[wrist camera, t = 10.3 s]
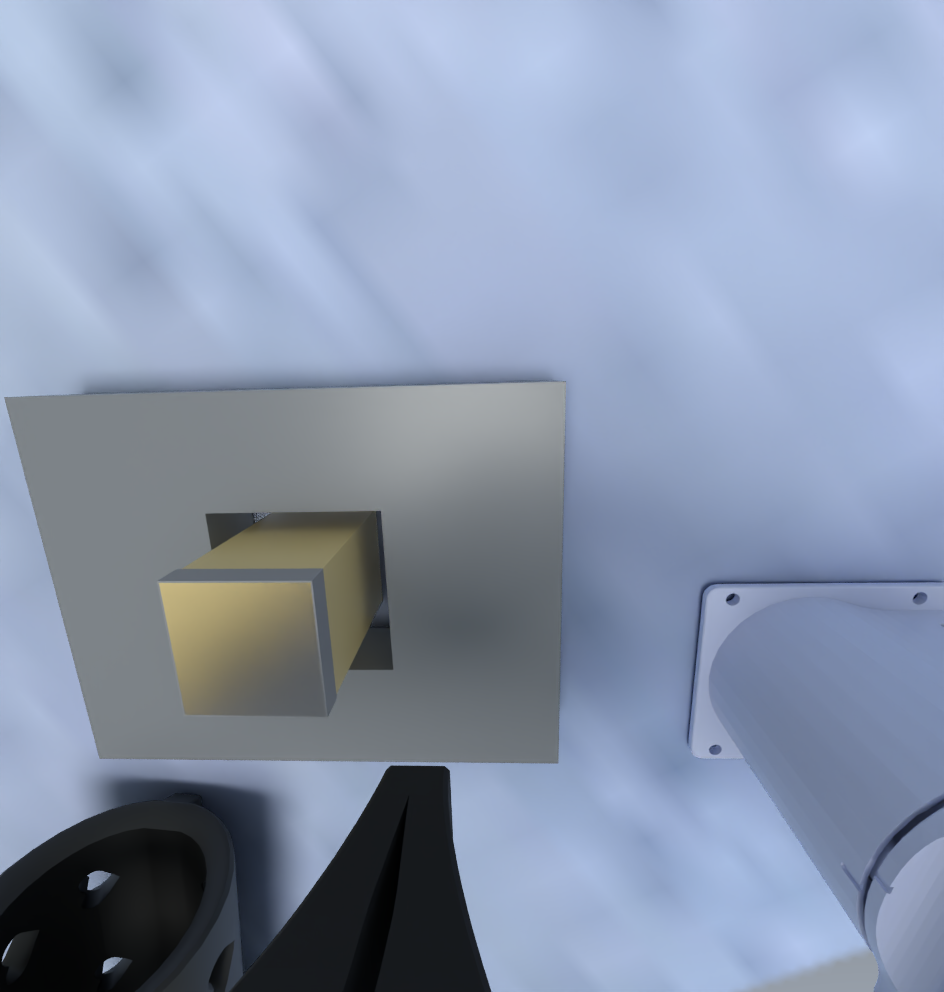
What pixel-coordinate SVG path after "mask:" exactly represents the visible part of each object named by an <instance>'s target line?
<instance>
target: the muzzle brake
mask: <svg viewBox="0 0 944 992" xmlns="http://www.w3.org/2000/svg"><path fill="white" fill-rule="evenodd" d="M94 871H105V872H108V873H112V874H111V876H110V877H109V878H108V879H107V880H106V881H105V882H104V883H102V884H101V885H100V886H98V887H96V888H94V889H92V890H87V887H88V881H89V877H88V876H87V875H89V874H90V873H92V872H94ZM12 939H13V940H12ZM11 940H12V943H11V945H10V947H9V949H8V952H7V954H6V956H5V958H4V960H3V961H2V957H3V954H4V951H5V949H6V948H7V946H8V944H9V943H10V942H11ZM111 957H120V958H122V960H121V961H120V962H119V963H118V964H117V965H116V966H114V967H113V968H111V969H110V970H108V971H107V972H105V973H102V971H103V964H104V961H105V960H107V959H109V958H111ZM242 976H243V963H242V949H241V936H240V922H239V908H238V894H237V880H236V867H235V853H234V847H233V843H232V840H231V836H230V833H229V831H228V830H227V828H226V827H225V825H224V823H223V822H222V820H221V819H219V818H218V817H217V816H216V815H215V814H214V813H212V812H211V811H210V810H208V809H206V808H203V807H202V801H201V796H200V795H191V794H180V793H175V794H174V795H172V796H170V797H169V798H167V799H165V800H164V801H161V800H153V801H146V802H140V803H133V804H129V805H125V806H122V807H118V808H115V809H111V810H108V811H106V812H103V813H101V814H98V815H96V816H93V817H91V818H88V819H85V820H83V821H82V822H80V823H78V824H76V825H74V826H72V827H70V828H68V829H66V830H64V831H62V832H60V833H58V834H57V835H55V836H54V837H52V838H51V839H49V840H48V841H46V842H44V843H43V844H41V845H40V846H38V847H37V848H35V849H33V850H32V851H31V852H29V853H28V854H27V855H25V856H24V857H23V858H21V859H20V860H19V861H17V862H16V863H15V864H13V865H12V866H11V867H9V868H8V869H7V870H5V871H4V872H3V873H2V874H1V875H0V992H229V991H230V990H231V989H232V988H233V987H234V985H235V984H236V983H237V982H238V981H239V980H240V978H241V977H242Z"/></svg>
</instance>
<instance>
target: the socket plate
mask: <svg viewBox="0 0 944 992" xmlns="http://www.w3.org/2000/svg"><path fill="white" fill-rule="evenodd" d="M565 395H566V382H564V381H525V382H489V383H454V384H419V385H383V386H348V387H313V388H277V389H242V390H207V391H171V392H136V393H101V394H71V395H49V396H26V397H4V398H5V402H6V406H7V410H8V414H9V417H10V421H11V425H12V429H13V433H14V436H15V440H16V444H17V448H18V451H19V455H20V459H21V463H22V467H23V470H24V474H25V478H26V482H27V485H28V489H29V493H30V497H31V501H32V504H33V508H34V512H35V516H36V520H37V523H38V527H39V531H40V535H41V538H42V542H43V546H44V550H45V554H46V557H47V561H48V565H49V569H50V573H51V576H52V580H53V584H54V588H55V591H56V595H57V599H58V603H59V607H60V610H61V614H62V618H63V622H64V625H65V629H66V633H67V637H68V641H69V644H70V648H71V652H72V656H73V660H74V663H75V667H76V671H77V675H78V678H79V682H80V686H81V690H82V694H83V697H84V701H85V705H86V709H87V712H88V716H89V720H90V724H91V728H92V731H93V735H94V739H95V743H96V747H97V750H98V754H99V758H100V759H188V760H282V761H377V762H471V763H558V749H559V699H560V648H561V597H562V547H563V496H564V446H565ZM337 511H381V519H382V532H383V545H384V557H385V570H386V583H387V596H388V609H389V621H390V627H379V628H369V629H368V631H367V633H366V635H365V637H364V639H363V641H362V643H361V645H360V647H359V649H358V651H357V654H356V656H355V658H354V660H353V662H352V664H351V666H350V668H349V670H348V672H347V674H346V676H345V678H344V680H343V682H342V684H341V686H340V688H339V690H338V692H337V694H336V695H337V700H336V702H335V704H334V706H333V708H332V710H331V712H330V714H329V716H328V718H291V717H201V716H184V715H183V710H182V705H181V700H180V695H179V690H178V685H177V680H176V675H175V670H174V665H173V660H172V655H171V650H170V645H169V640H168V635H167V630H166V625H165V620H164V615H163V610H162V605H161V600H160V595H159V590H158V585H157V581H158V580H159V579H161V578H163V577H164V576H166V575H168V574H169V573H171V572H173V571H174V570H176V569H182V568H184V567H185V566H187V565H189V564H190V563H192V562H193V561H195V560H197V559H198V558H200V557H202V556H203V555H205V554H206V553H208V552H210V551H211V550H213V549H214V548H216V547H218V546H219V545H221V544H222V543H224V542H226V541H227V540H229V539H230V538H232V537H234V536H235V535H237V534H239V533H240V532H242V531H243V530H245V529H247V528H248V527H250V526H251V525H253V524H254V521H253V514H252V513H272V512H337Z"/></svg>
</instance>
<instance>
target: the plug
mask: <svg viewBox="0 0 944 992" xmlns="http://www.w3.org/2000/svg"><path fill="white" fill-rule="evenodd" d="M157 585H158V590H159V595H160V600H161V605H162V610H163V615H164V620H165V625H166V630H167V635H168V640H169V645H170V650H171V655H172V660H173V665H174V670H175V675H176V680H177V685H178V690H179V695H180V700H181V705H182V710H183V715H184V716H201V717H291V718H328V716H329V714H330V712H331V710H332V708H333V706H334V704H335V702H336V700H337V695H336V694H337V692H338V690H339V688H340V686H341V684H342V682H343V680H344V678H345V676H346V674H347V672H348V670H349V668H350V666H351V664H352V662H353V660H354V658H355V656H356V654H357V651H358V649H359V647H360V645H361V643H362V641H363V639H364V637H365V635H366V633H367V631H368V629H369V627H370V625H371V623H372V621H373V619H374V617H375V615H376V613H377V611H378V609H379V607H380V605H381V602H382V600H383V598H382V584H381V571H380V558H379V544H378V531H377V517H376V511H337V512H272V513H271V514H269V515H267V516H266V517H264V518H263V519H261V520H259V521H258V522H256V523H255V524H253V525H251V526H250V527H248V528H247V529H245V530H243V531H242V532H240V533H239V534H237V535H235V536H234V537H232V538H230V539H229V540H227V541H226V542H224V543H222V544H221V545H219V546H218V547H216V548H214V549H213V550H211V551H210V552H208V553H206V554H205V555H203V556H202V557H200V558H198V559H197V560H195V561H193V562H192V563H190V564H189V565H187V566H185V567H184V568H182V569H176V570H174V571H173V572H171V573H169V574H168V575H166V576H164V577H163V578H161V579H159V580H158V581H157Z"/></svg>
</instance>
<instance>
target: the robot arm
mask: <svg viewBox="0 0 944 992" xmlns="http://www.w3.org/2000/svg"><path fill="white" fill-rule="evenodd" d="M733 593H735V596H734V598H733V599H732V600H730V601H726V598H727V596H728V595H730V594H733ZM917 593H918V595H917V597H916V598H915V599H913V597H914V595H916V594H917ZM688 745H689V749H690V750H691V752H692V754H693V755H694V756H695V757H697V758H702V759H745V760H746V762H747V763H748V765H749V766H750V768H751V769H752V771H753V772H754V774H755V775H756V777H757V778H758V780H759V781H760V783H761V784H762V786H763V787H764V789H765V790H766V792H767V794H768V795H769V797H770V798H771V800H772V801H773V803H774V804H775V806H776V807H777V809H778V810H779V812H780V813H781V815H782V816H783V818H784V819H785V821H786V822H787V824H788V825H789V827H790V829H791V830H792V832H793V833H794V835H795V836H796V838H797V839H798V841H799V842H800V844H801V845H802V847H803V848H804V850H805V851H806V853H807V854H808V856H809V857H810V859H811V860H812V862H813V863H814V865H815V867H816V868H817V870H818V871H819V873H820V874H821V876H822V877H823V879H824V880H825V882H826V883H827V885H828V886H829V888H830V889H831V891H832V892H833V894H834V895H835V897H836V898H837V900H838V902H839V903H840V905H841V906H842V908H843V909H844V911H845V912H846V914H847V915H848V917H849V918H850V920H851V921H852V923H853V924H854V926H855V927H856V929H857V930H858V932H859V933H860V935H861V937H862V938H863V940H864V941H865V943H866V944H867V946H868V947H869V949H870V950H871V951H872V952H873V954H874V956H875V959H876V961H877V963H878V968H879V976H878V980H877V983H876V985H875V987H874V992H944V583H943V582H925V583H792V584H715V585H711V586H709V587H708V588H707V589H706V590H705V591H704V594H703V600H702V610H701V620H700V630H699V640H698V650H697V660H696V670H695V680H694V690H693V700H692V710H691V720H690V730H689V741H688ZM712 745H716V746H715V747H713V748H710V747H711V746H712ZM229 992H491V989H490V986H489V983H488V980H487V977H486V973H485V970H484V967H483V964H482V960H481V957H480V953H479V950H478V947H477V943H476V940H475V936H474V933H473V929H472V925H471V921H470V918H469V914H468V910H467V906H466V901H465V897H464V893H463V889H462V885H461V880H460V875H459V871H458V866H457V860H456V854H455V849H454V843H453V829H452V808H451V787H450V771H449V770H448V769H447V768H446V767H445V766H390V767H389V768H388V769H387V770H386V771H385V773H384V775H383V777H382V779H381V781H380V783H379V785H378V787H377V788H376V790H375V792H374V794H373V796H372V797H371V799H370V801H369V803H368V804H367V806H366V808H365V809H364V811H363V813H362V814H361V816H360V818H359V819H358V821H357V823H356V824H355V826H354V827H353V829H352V830H351V832H350V833H349V835H348V837H347V838H346V840H345V841H344V843H343V844H342V846H341V847H340V849H339V851H338V852H337V854H336V855H335V857H334V858H333V860H332V861H331V863H330V864H329V865H328V867H327V868H326V870H325V871H324V872H323V874H322V875H321V877H320V878H319V880H318V881H317V882H316V884H315V885H314V887H313V888H312V889H311V891H310V892H309V894H308V895H307V896H306V898H305V899H304V901H303V902H302V903H301V905H300V906H299V907H298V909H297V910H296V911H295V912H294V914H293V915H292V916H291V918H290V919H289V920H288V922H287V923H286V924H285V925H284V927H283V928H282V929H281V931H280V932H279V933H278V934H277V936H276V937H275V938H274V939H273V940H272V942H271V943H270V944H269V945H268V947H267V948H266V949H265V950H264V952H263V953H262V954H261V955H260V956H259V958H258V959H257V960H256V961H255V962H254V963H253V965H252V966H251V967H250V968H249V969H248V970H247V972H246V973H245V974H244V975H243V976H242V977H241V978H240V980H239V981H238V982H237V983H236V984H235V985H234V987H233V988H232V989H231V990H230V991H229Z"/></svg>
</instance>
